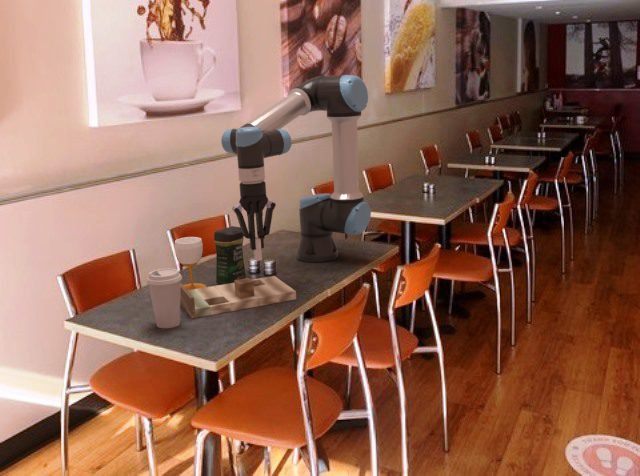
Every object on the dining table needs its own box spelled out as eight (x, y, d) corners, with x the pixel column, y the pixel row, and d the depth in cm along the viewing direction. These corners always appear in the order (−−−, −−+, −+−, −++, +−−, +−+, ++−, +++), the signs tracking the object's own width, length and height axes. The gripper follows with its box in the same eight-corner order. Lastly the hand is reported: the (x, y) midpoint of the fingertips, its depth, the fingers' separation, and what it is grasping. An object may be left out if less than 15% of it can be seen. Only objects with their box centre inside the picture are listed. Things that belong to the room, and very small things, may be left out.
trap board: (274, 283, 222) (273, 265, 220) (296, 299, 206) (295, 280, 204) (177, 300, 209) (175, 281, 207) (192, 318, 193) (190, 298, 191)
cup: (172, 289, 219) (167, 241, 215) (195, 282, 226) (191, 235, 222) (189, 294, 213) (185, 245, 209) (212, 287, 220) (208, 239, 216)
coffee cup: (153, 319, 193) (148, 268, 190) (187, 316, 194) (183, 266, 190) (148, 331, 184) (142, 278, 180) (184, 329, 185) (179, 276, 181)
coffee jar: (230, 288, 218) (227, 232, 213) (212, 284, 222) (208, 229, 218) (250, 280, 225) (247, 225, 221) (232, 277, 230) (229, 223, 225)
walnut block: (249, 291, 206) (248, 277, 205) (254, 296, 202) (253, 281, 201) (235, 294, 204) (234, 280, 203) (239, 298, 200) (238, 284, 199)
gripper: (234, 186, 191) (241, 266, 197) (278, 180, 196) (283, 258, 202) (226, 182, 197) (233, 259, 204) (268, 176, 202) (274, 252, 209)
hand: (258, 259), depth 203 cm, fingers closed
